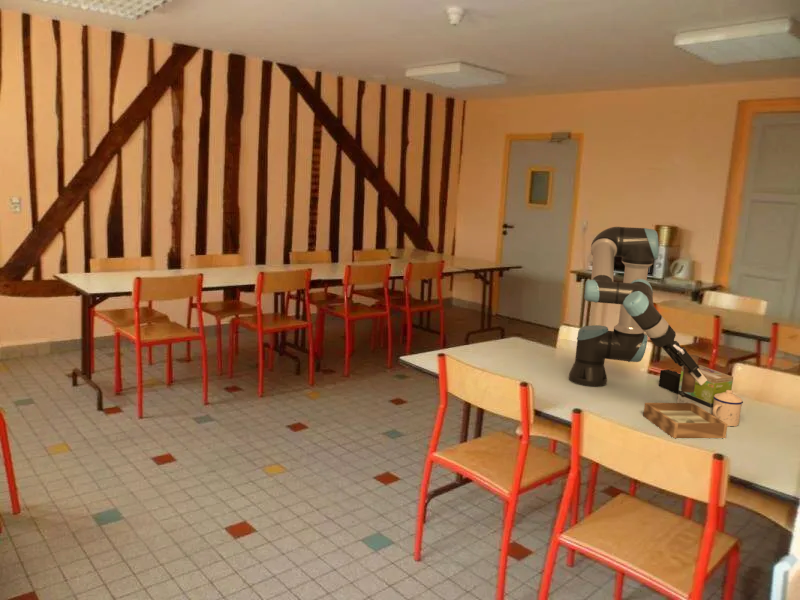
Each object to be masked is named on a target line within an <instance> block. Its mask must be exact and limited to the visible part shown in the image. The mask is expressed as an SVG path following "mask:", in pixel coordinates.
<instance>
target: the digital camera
mask: <svg viewBox="0 0 800 600" xmlns="http://www.w3.org/2000/svg"><path fill="white" fill-rule="evenodd" d="M680 377H681V373H679V372H677V371H676V370H675V371H674V370H671V369H660V372H659V381H658V387H660V388H662V389H664V390H667V391H670V392H671V393H672V392H673V393H675V394H677V395H678V391H679V384H680Z"/></svg>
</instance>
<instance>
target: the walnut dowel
mask: <svg viewBox="0 0 800 600" xmlns="http://www.w3.org/2000/svg"><path fill="white" fill-rule="evenodd" d="M689 355H690V356H691V358H692V359H693V360H694V361H695V363H696V364H697V365H699V359H700V357H699V356H698V355H694V354H689ZM688 371H689V370H688V368H687V367H686V366H685V365H684V371H683V378H682V386H681V390H682V391H684V392H689V393H693V392H694V388H695V381H696V379H695V378H694V377H693V376H692V375H691V373H690V374H689V373H688Z"/></svg>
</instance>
